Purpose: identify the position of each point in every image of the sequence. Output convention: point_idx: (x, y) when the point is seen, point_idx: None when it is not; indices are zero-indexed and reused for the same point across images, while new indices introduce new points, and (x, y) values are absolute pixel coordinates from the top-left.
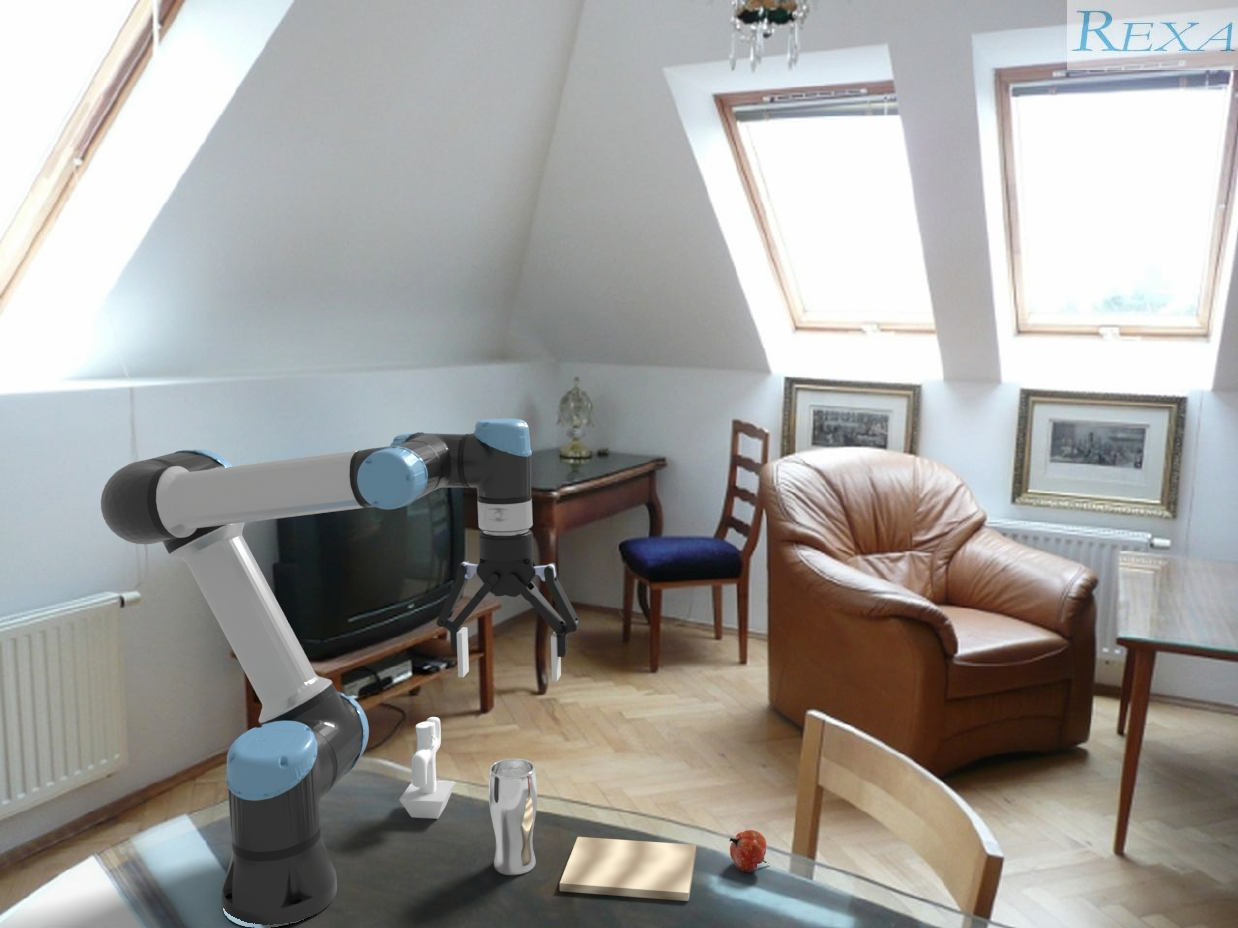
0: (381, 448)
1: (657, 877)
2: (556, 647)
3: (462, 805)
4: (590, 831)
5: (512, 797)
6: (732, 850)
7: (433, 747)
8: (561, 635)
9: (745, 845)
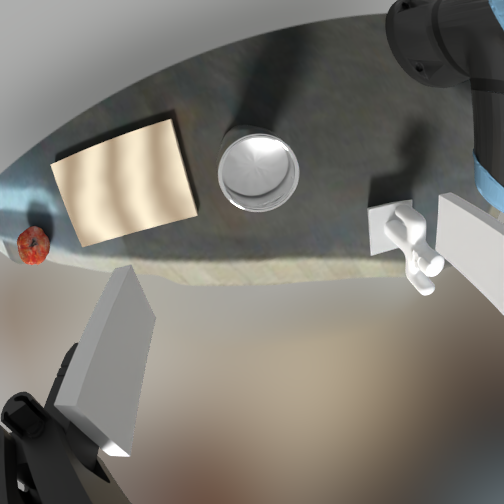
0: None
1: (84, 175)
2: (73, 362)
3: (353, 240)
4: (197, 241)
5: (238, 132)
6: (39, 236)
7: (411, 252)
8: (12, 401)
9: (24, 238)
